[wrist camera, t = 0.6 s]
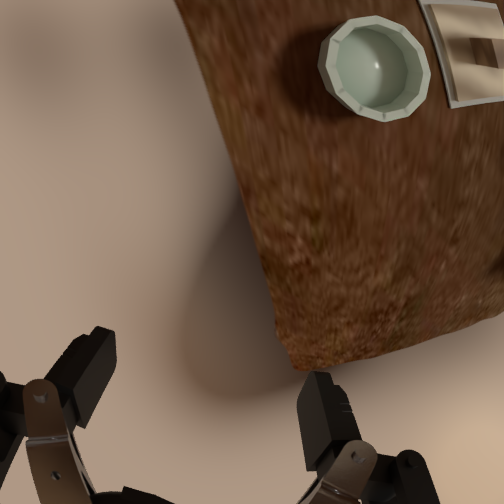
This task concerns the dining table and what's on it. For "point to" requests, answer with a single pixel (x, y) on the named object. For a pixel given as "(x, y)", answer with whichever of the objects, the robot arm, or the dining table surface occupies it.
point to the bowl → (374, 68)
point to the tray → (453, 0)
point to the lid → (471, 49)
